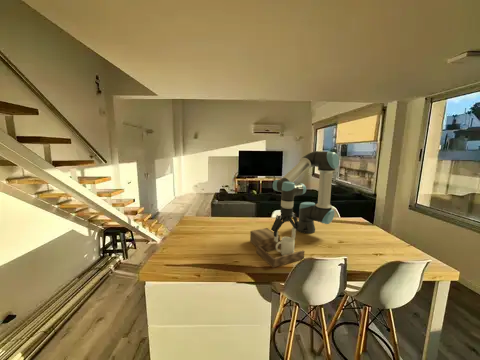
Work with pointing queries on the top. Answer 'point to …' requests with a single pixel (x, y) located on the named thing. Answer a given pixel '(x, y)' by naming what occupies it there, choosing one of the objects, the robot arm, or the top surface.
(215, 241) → the top surface
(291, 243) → the mug
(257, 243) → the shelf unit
